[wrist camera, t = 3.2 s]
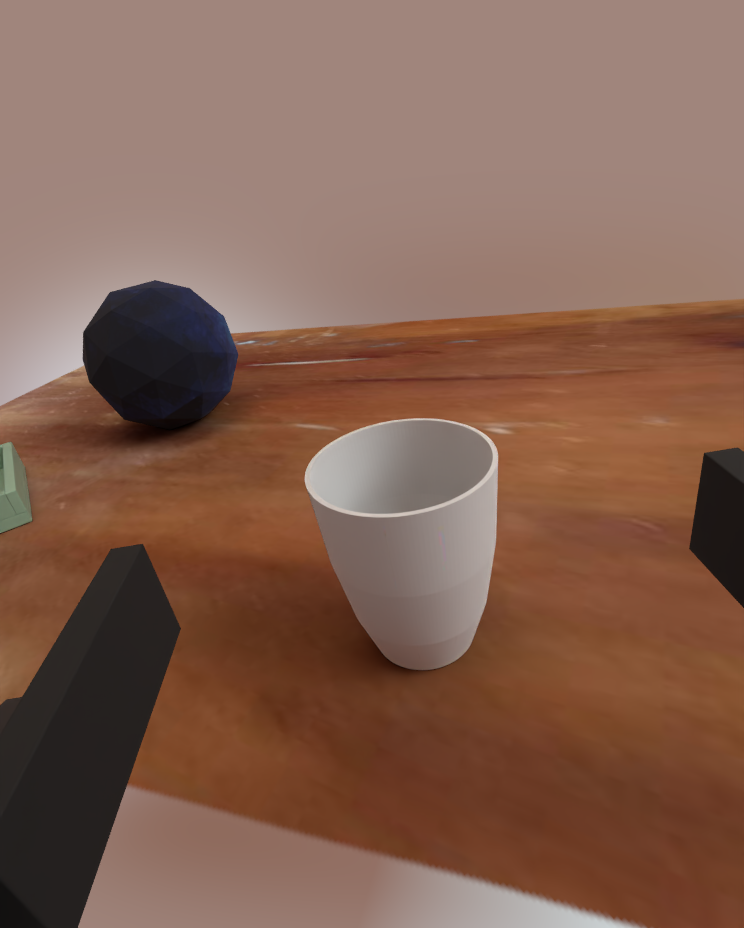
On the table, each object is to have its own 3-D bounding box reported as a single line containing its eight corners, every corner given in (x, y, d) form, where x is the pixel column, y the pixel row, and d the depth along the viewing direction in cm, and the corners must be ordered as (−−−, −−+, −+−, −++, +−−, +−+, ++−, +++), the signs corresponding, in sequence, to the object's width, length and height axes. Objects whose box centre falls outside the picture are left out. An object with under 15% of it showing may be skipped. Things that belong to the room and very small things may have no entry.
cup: (518, 588, 29) (514, 421, 25) (486, 719, 23) (472, 527, 18) (379, 567, 33) (351, 415, 28) (318, 676, 26) (268, 504, 21)
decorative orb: (165, 344, 67) (72, 257, 54) (274, 336, 63) (200, 238, 49) (132, 450, 62) (20, 382, 49) (248, 450, 57) (158, 375, 44)
